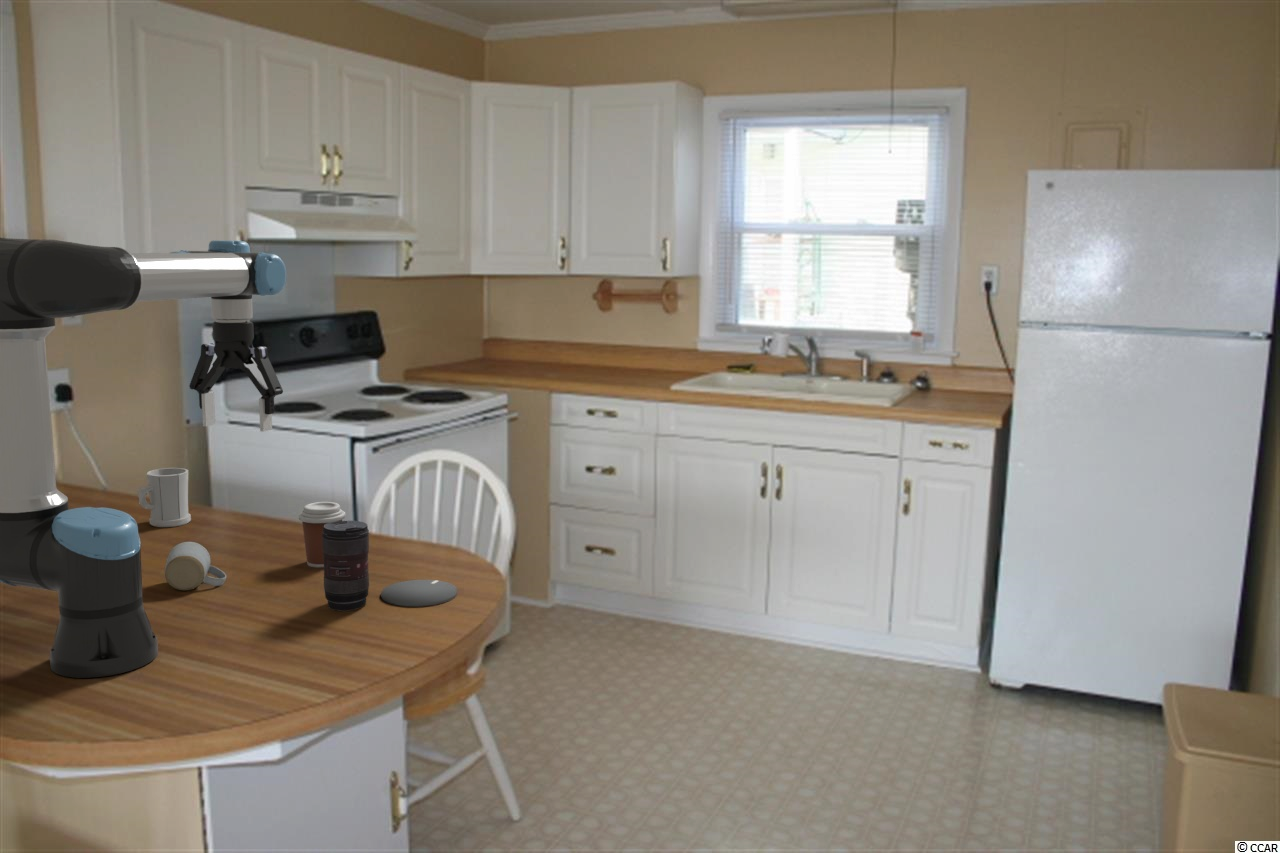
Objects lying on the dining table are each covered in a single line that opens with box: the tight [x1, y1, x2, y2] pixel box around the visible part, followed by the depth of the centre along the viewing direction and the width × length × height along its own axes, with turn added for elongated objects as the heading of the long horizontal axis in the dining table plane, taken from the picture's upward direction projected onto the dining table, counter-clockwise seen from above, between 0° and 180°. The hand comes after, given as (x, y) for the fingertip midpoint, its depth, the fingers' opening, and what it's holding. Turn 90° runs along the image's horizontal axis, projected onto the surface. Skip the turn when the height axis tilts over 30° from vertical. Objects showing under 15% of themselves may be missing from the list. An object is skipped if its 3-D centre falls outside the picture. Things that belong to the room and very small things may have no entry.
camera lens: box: [322, 520, 370, 612], centre depth 196 cm, size 8×8×15 cm
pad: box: [380, 579, 458, 608], centre depth 204 cm, size 14×14×1 cm
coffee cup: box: [298, 501, 346, 568], centre depth 221 cm, size 9×9×12 cm
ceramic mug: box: [164, 541, 227, 591], centre depth 206 cm, size 11×8×8 cm
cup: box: [137, 467, 192, 528], centre depth 248 cm, size 10×9×12 cm
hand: (237, 428), depth 215 cm, fingers open, 13 cm apart
